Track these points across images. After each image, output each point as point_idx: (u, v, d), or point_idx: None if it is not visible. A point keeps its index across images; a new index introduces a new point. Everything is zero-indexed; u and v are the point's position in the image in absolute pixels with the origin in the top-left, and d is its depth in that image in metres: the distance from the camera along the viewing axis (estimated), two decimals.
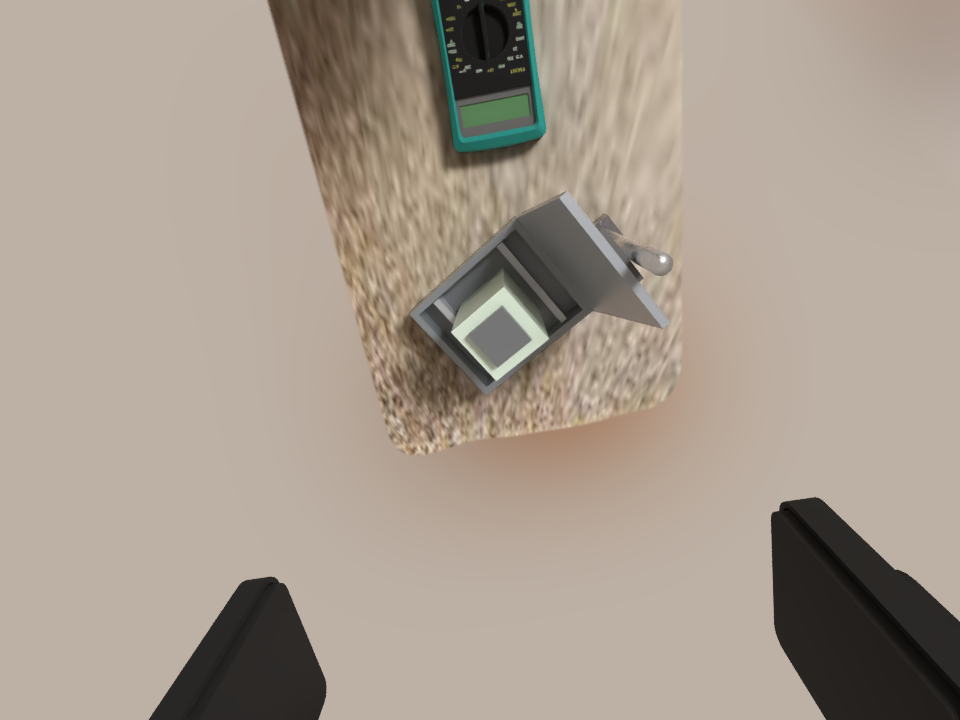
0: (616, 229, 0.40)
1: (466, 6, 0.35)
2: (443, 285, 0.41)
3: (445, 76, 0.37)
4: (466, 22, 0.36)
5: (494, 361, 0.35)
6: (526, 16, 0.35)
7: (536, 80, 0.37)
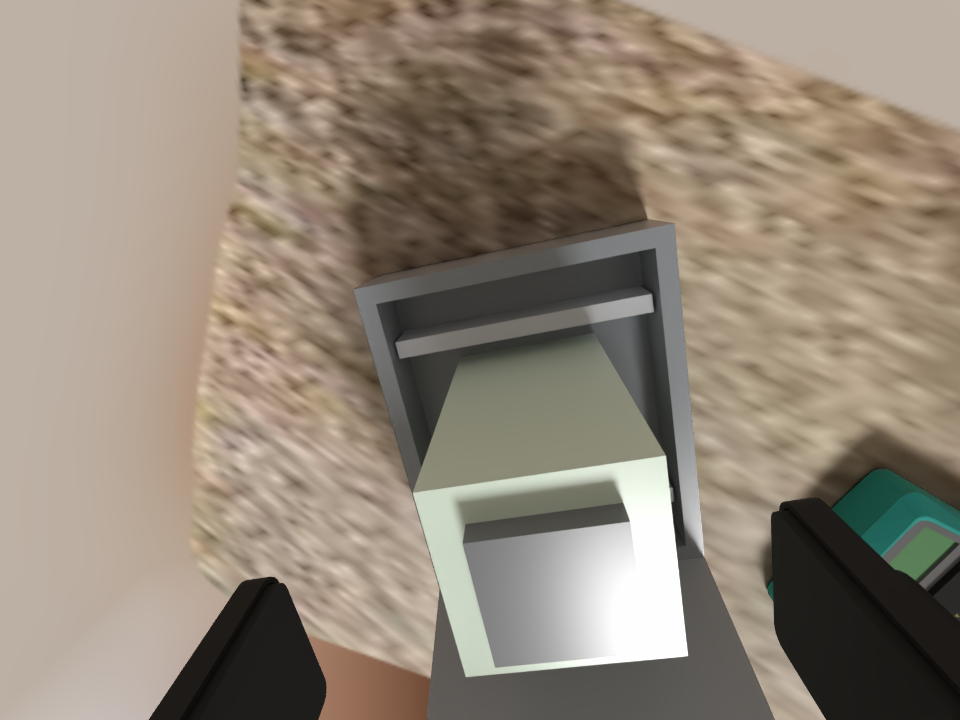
0: None
1: None
2: (681, 349, 0.16)
3: None
4: None
5: (490, 546, 0.09)
6: None
7: None
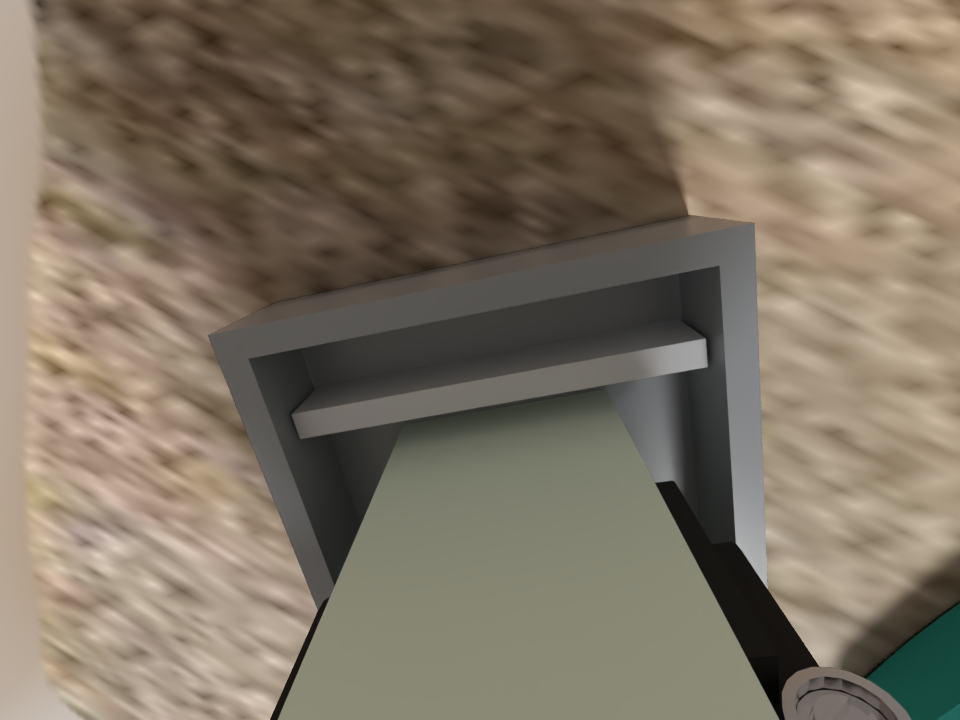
0: None
1: None
2: (754, 430, 0.09)
3: None
4: None
5: None
6: None
7: None
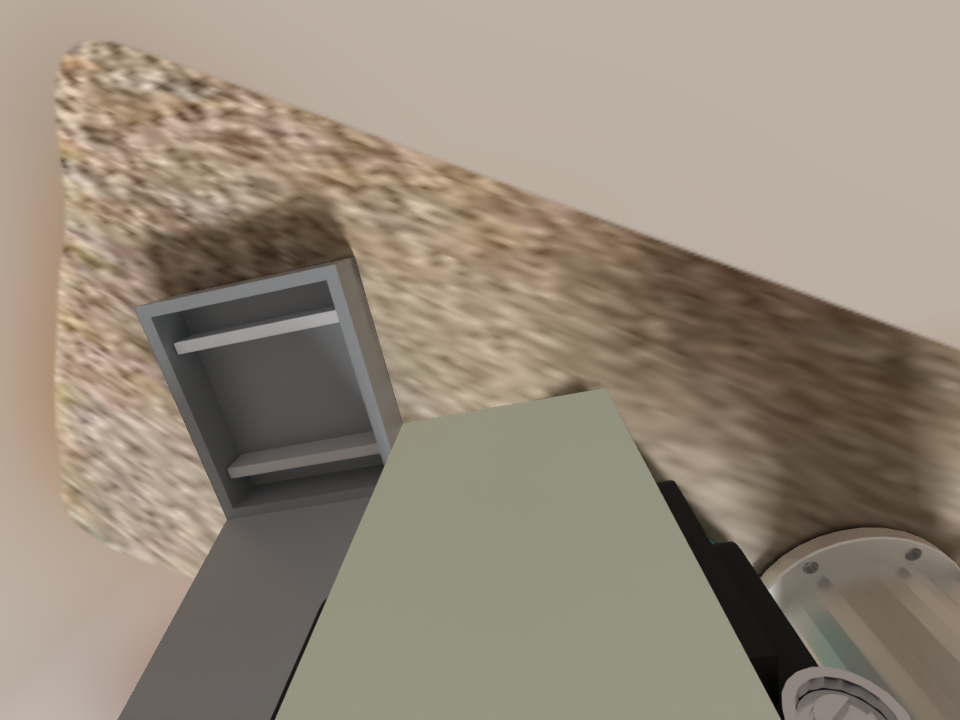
0: None
1: None
2: (357, 347, 0.23)
3: None
4: None
5: None
6: None
7: None
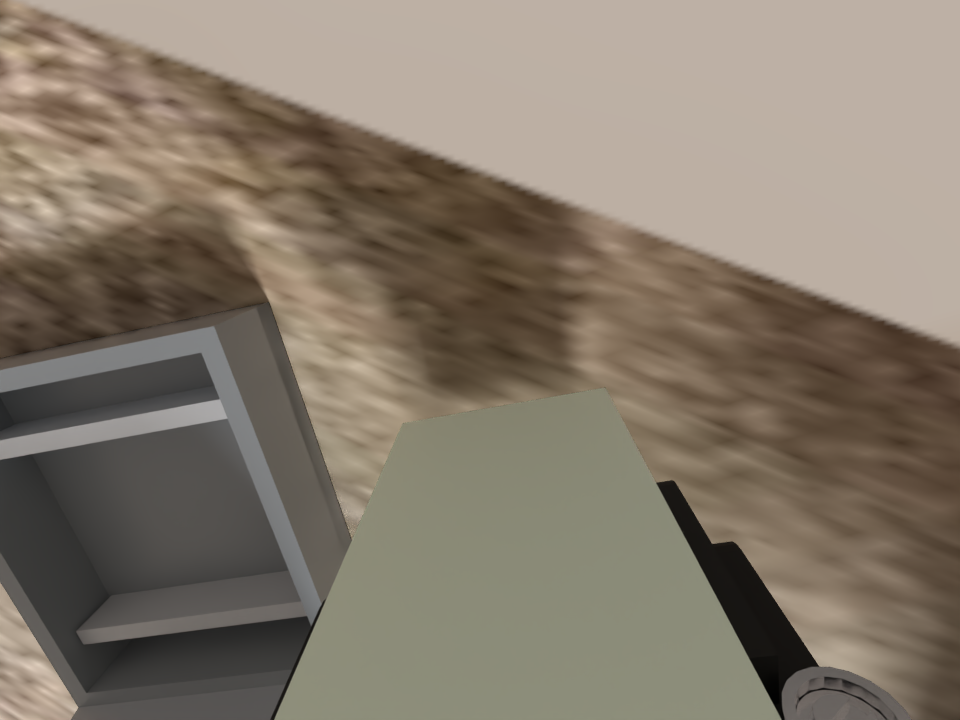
0: None
1: None
2: (262, 461, 0.14)
3: None
4: None
5: None
6: None
7: None
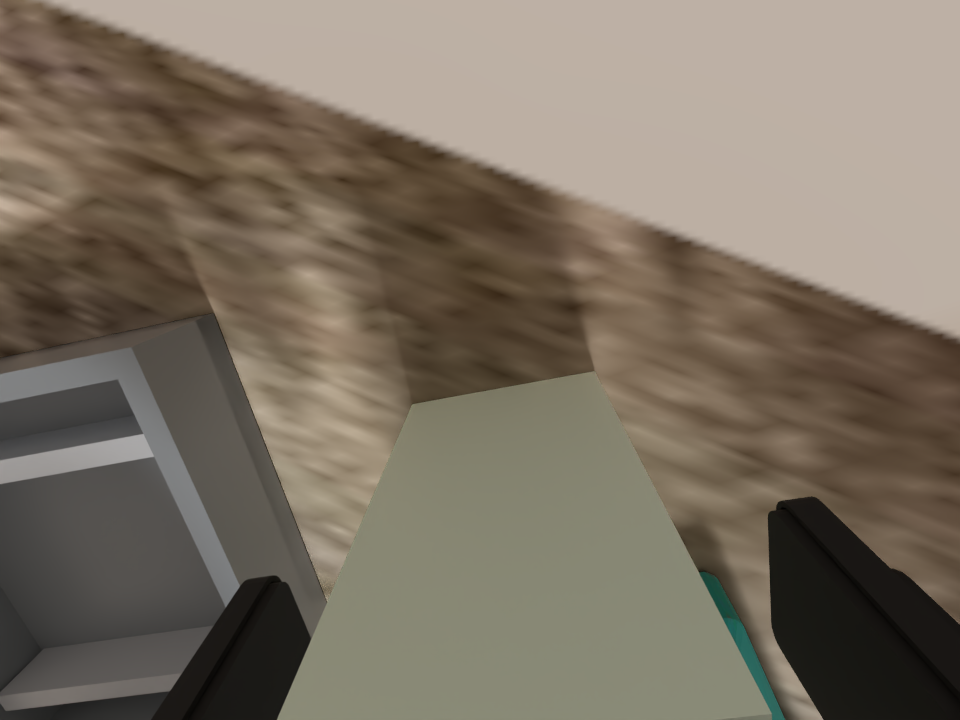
0: None
1: None
2: (199, 509, 0.11)
3: None
4: None
5: None
6: None
7: None
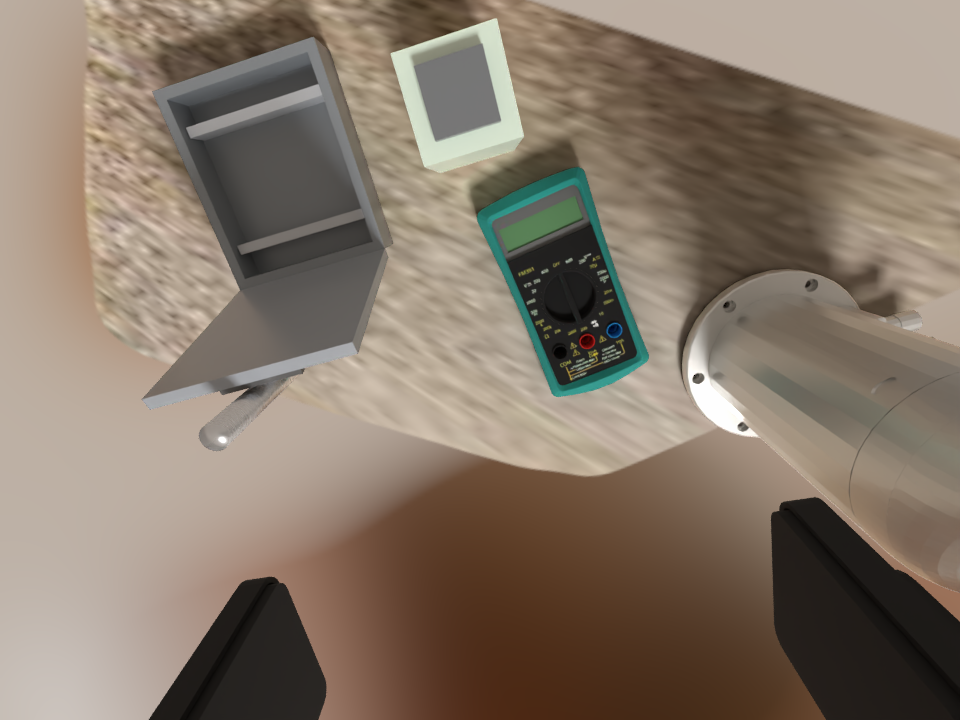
0: None
1: (593, 315, 0.33)
2: (336, 112, 0.28)
3: (605, 245, 0.32)
4: (590, 302, 0.34)
5: (425, 66, 0.22)
6: (529, 322, 0.33)
7: (503, 266, 0.32)
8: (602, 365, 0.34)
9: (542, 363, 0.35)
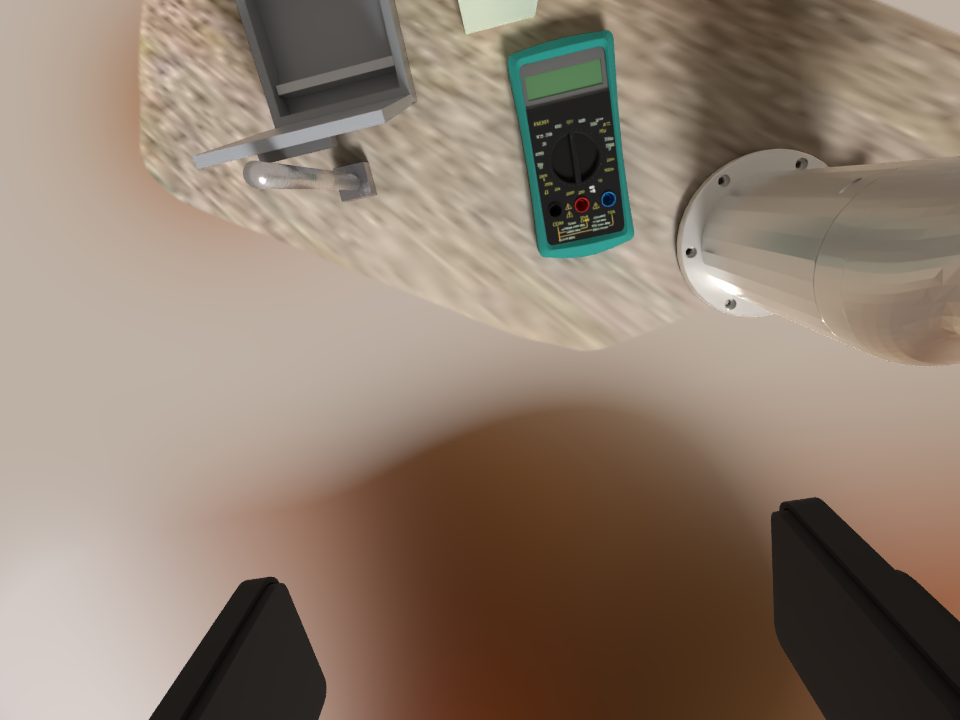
0: (353, 197, 0.38)
1: (592, 180, 0.36)
2: None
3: (617, 114, 0.35)
4: (592, 169, 0.36)
5: None
6: (533, 173, 0.36)
7: (521, 113, 0.35)
8: (590, 232, 0.37)
9: (537, 219, 0.37)
